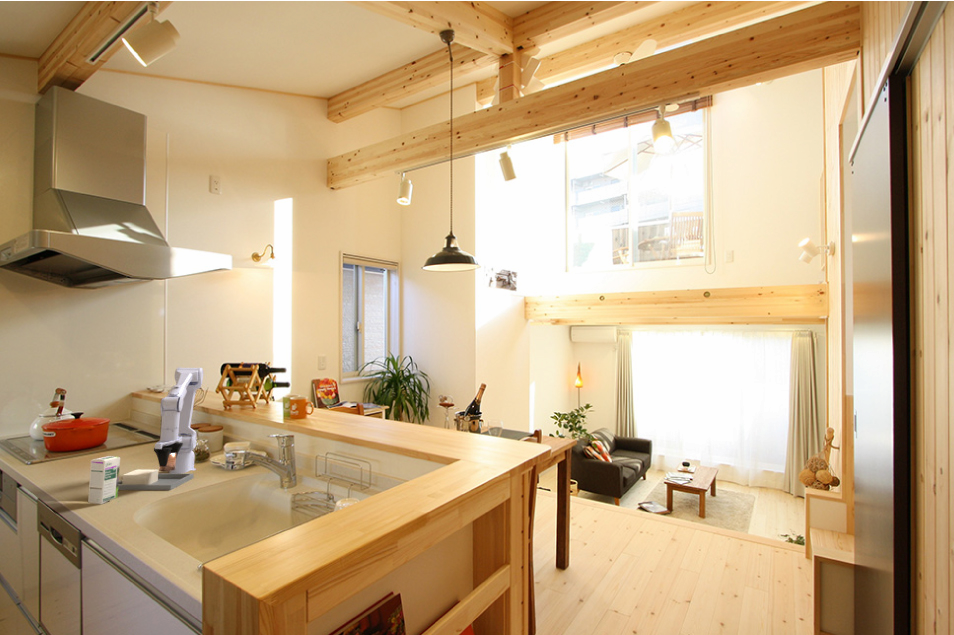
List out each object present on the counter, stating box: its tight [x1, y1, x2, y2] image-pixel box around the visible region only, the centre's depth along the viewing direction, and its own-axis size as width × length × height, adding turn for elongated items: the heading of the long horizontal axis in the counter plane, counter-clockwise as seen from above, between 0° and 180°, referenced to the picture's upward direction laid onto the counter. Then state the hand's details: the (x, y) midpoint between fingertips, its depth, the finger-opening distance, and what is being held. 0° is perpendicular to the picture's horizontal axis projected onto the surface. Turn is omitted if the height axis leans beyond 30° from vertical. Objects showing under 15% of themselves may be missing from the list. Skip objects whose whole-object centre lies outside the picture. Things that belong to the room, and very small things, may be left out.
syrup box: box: [87, 455, 121, 505], centre depth 159 cm, size 6×6×14 cm
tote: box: [118, 472, 195, 491], centre depth 177 cm, size 16×21×2 cm
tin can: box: [158, 452, 176, 472], centre depth 178 cm, size 5×5×6 cm
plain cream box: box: [121, 469, 159, 485], centre depth 176 cm, size 8×8×4 cm
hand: (167, 464), depth 178 cm, fingers closed on tin can, 5 cm apart
